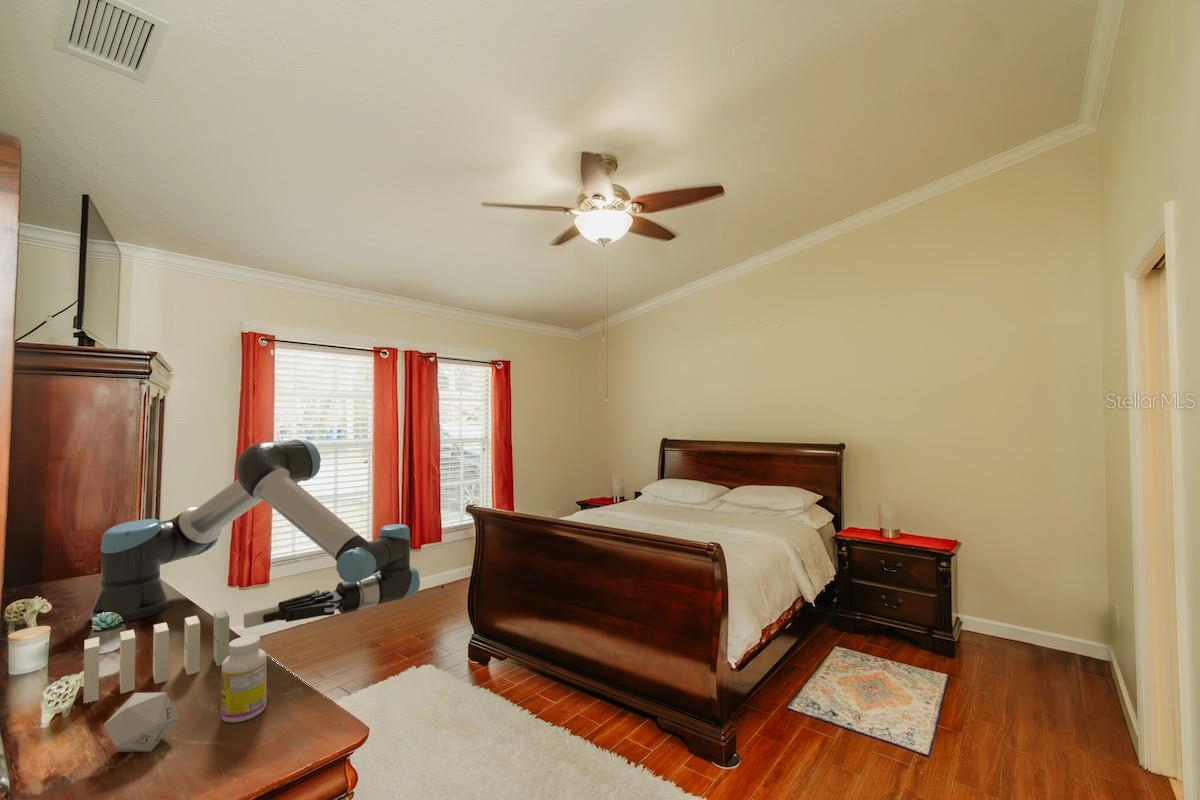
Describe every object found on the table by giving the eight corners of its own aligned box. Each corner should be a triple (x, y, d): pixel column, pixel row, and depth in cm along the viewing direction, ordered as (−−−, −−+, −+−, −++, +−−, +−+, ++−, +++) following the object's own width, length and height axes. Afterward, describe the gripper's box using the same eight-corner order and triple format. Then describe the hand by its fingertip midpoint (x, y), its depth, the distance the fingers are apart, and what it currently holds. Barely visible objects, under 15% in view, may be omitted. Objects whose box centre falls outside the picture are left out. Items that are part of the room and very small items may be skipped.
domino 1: (98, 689, 101) (99, 636, 101) (98, 699, 97) (99, 645, 98) (83, 692, 100) (84, 640, 100) (83, 704, 96) (84, 649, 96)
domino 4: (224, 655, 115) (225, 609, 115) (229, 663, 111) (229, 616, 111) (213, 658, 114) (213, 611, 114) (217, 666, 110) (217, 618, 110)
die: (114, 776, 78) (165, 712, 81) (76, 741, 80) (127, 680, 83) (157, 761, 86) (202, 703, 89) (121, 729, 87) (166, 674, 90)
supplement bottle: (227, 706, 95) (228, 635, 95) (270, 699, 97) (270, 630, 98) (215, 728, 89) (216, 651, 89) (261, 719, 91) (261, 645, 91)
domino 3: (196, 662, 112) (196, 615, 112) (199, 671, 108) (200, 622, 108) (184, 666, 110) (184, 618, 110) (187, 675, 106) (187, 625, 107)
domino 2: (133, 679, 105) (133, 629, 105) (134, 689, 101) (135, 637, 101) (119, 683, 103) (120, 632, 103) (120, 693, 99) (121, 640, 100)
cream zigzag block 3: (165, 670, 108) (166, 622, 108) (168, 680, 104) (168, 629, 104) (152, 674, 107) (153, 624, 107) (154, 684, 103) (155, 632, 103)
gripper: (366, 617, 127) (250, 648, 110) (347, 602, 136) (238, 629, 120) (366, 585, 127) (251, 612, 111) (347, 573, 136) (238, 596, 120)
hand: (244, 621), depth 115 cm, fingers closed
